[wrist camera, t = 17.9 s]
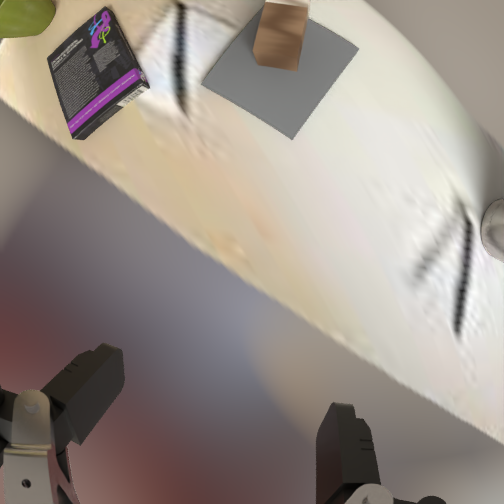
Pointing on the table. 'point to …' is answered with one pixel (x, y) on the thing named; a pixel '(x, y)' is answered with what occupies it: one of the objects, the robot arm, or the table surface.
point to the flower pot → (24, 17)
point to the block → (281, 33)
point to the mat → (280, 77)
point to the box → (95, 74)
